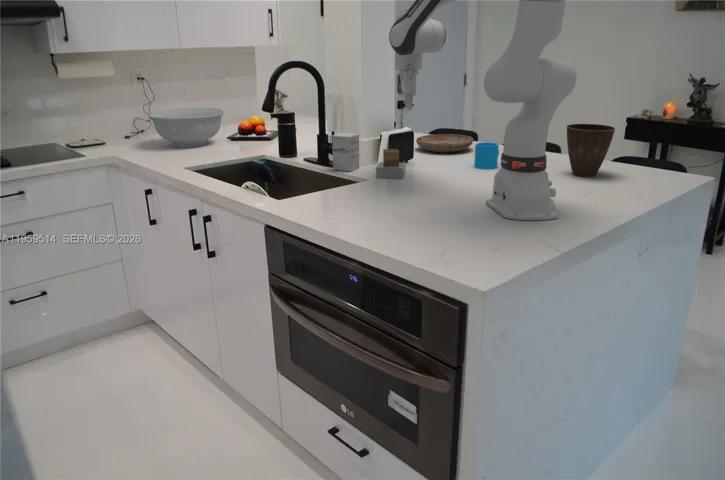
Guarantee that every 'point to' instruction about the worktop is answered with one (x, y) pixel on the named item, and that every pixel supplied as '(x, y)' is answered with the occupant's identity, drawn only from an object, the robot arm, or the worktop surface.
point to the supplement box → (345, 151)
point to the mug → (486, 155)
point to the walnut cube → (390, 157)
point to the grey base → (391, 171)
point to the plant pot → (588, 147)
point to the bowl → (187, 125)
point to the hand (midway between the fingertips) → (408, 107)
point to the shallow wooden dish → (444, 142)
